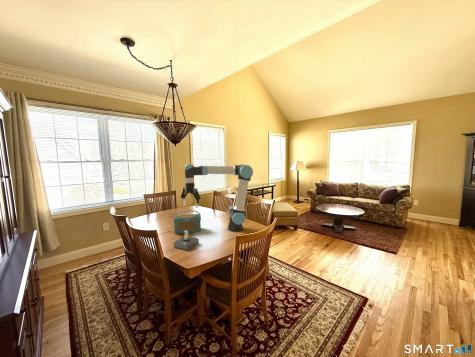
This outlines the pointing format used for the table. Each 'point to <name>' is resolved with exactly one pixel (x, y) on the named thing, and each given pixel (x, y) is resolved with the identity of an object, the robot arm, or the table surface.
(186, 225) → the radio
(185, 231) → the chuck key
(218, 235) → the table surface
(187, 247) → the chuck block
